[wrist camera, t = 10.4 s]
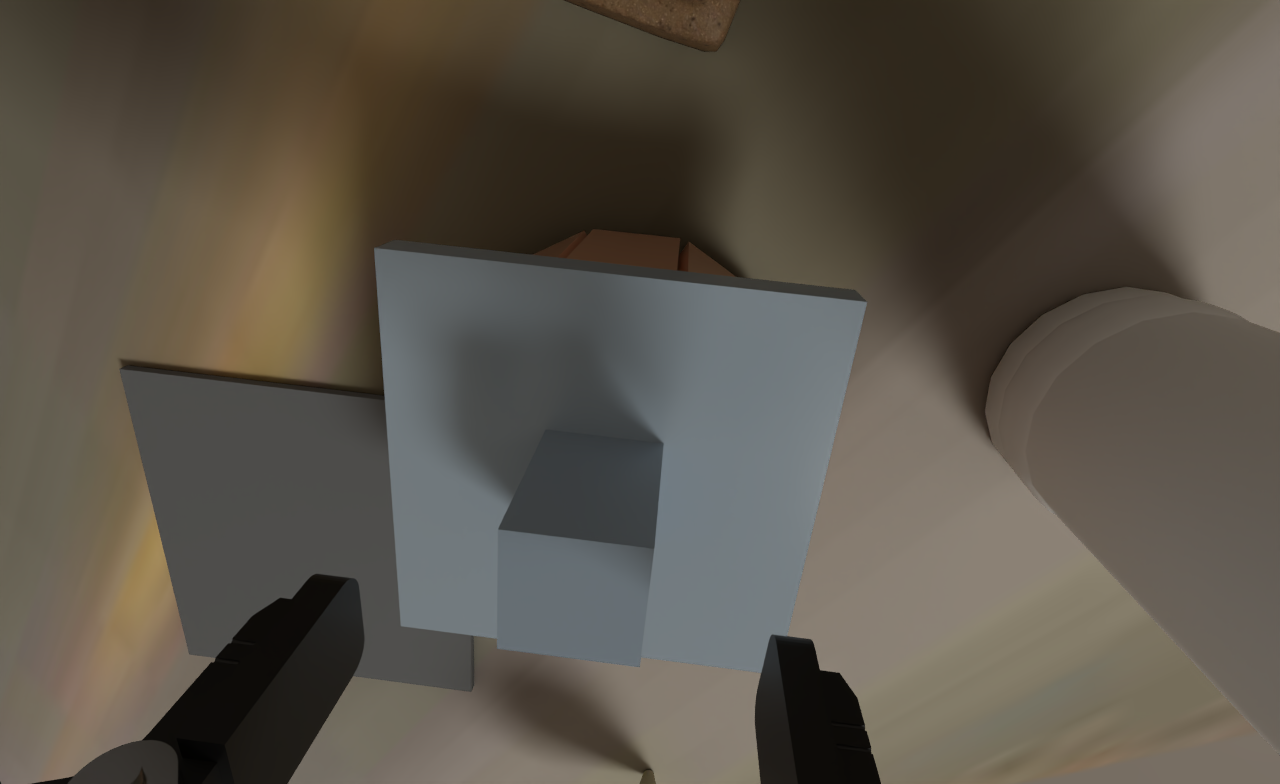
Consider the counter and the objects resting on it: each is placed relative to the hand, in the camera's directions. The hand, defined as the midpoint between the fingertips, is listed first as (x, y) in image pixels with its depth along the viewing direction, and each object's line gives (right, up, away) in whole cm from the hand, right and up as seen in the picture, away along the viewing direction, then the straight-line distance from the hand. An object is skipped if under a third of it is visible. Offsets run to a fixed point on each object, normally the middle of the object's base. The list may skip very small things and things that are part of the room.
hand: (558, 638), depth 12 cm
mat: (-13, -2, +16) cm, 21 cm away
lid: (+1, +3, +7) cm, 7 cm away
